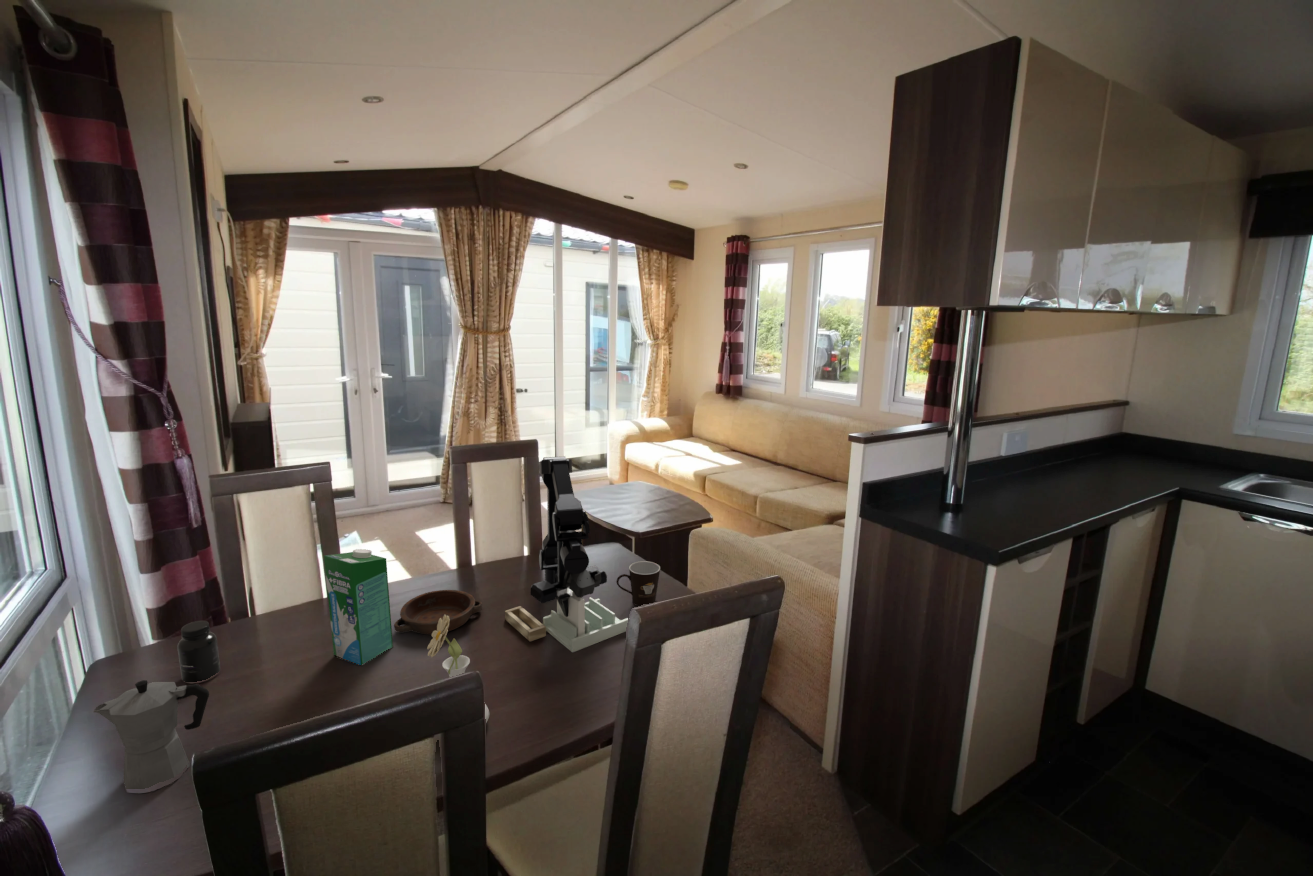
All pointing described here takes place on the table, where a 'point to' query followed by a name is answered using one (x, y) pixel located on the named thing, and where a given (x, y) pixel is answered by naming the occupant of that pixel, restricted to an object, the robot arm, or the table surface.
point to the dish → (436, 611)
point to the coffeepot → (152, 730)
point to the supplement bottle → (198, 652)
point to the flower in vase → (450, 652)
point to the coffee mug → (642, 582)
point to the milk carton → (358, 605)
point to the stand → (530, 634)
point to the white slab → (574, 612)
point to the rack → (596, 626)
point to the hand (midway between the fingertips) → (570, 615)
